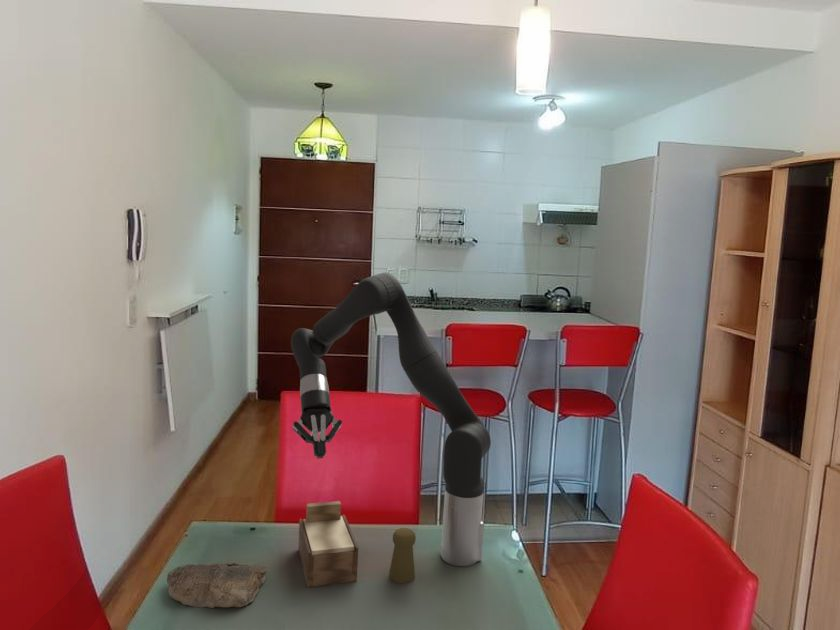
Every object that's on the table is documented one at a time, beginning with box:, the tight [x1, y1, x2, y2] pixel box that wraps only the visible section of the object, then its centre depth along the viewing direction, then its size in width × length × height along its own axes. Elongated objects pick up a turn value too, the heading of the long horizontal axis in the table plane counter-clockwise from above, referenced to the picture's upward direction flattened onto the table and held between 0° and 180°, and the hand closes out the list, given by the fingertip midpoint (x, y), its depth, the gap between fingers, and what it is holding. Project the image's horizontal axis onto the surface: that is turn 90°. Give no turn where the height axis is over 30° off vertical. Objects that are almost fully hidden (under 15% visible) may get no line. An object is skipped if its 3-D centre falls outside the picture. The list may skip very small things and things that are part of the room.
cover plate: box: [302, 500, 354, 555], centre depth 148 cm, size 9×15×5 cm, turn 18°
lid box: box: [298, 514, 359, 588], centre depth 149 cm, size 11×16×8 cm
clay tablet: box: [166, 562, 268, 609], centre depth 137 cm, size 14×5×20 cm
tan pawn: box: [388, 527, 417, 584], centre depth 146 cm, size 6×6×11 cm
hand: (320, 457), depth 159 cm, fingers closed
